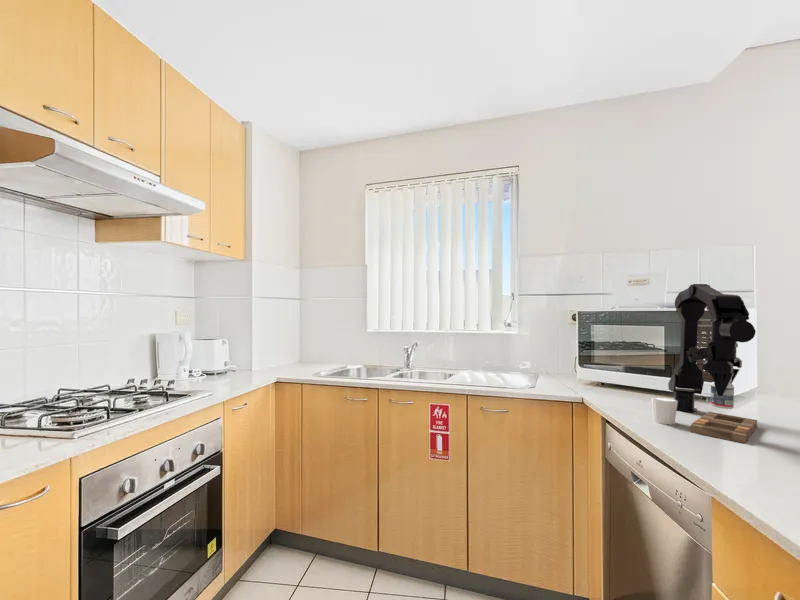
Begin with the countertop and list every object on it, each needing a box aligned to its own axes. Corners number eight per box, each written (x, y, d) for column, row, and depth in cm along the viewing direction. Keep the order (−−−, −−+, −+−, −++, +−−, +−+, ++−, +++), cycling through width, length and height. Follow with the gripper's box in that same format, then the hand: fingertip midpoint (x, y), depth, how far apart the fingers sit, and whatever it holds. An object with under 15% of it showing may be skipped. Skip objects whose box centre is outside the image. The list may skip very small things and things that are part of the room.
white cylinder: (651, 422, 127) (652, 399, 127) (650, 417, 133) (650, 395, 133) (678, 426, 124) (679, 402, 124) (675, 421, 130) (676, 398, 130)
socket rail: (708, 417, 135) (708, 410, 135) (757, 426, 126) (757, 419, 126) (690, 431, 119) (690, 423, 119) (744, 443, 110) (745, 434, 110)
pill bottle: (710, 403, 122) (711, 373, 122) (733, 406, 119) (734, 375, 119) (709, 406, 118) (710, 375, 118) (733, 410, 115) (734, 377, 115)
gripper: (697, 335, 131) (695, 385, 131) (681, 338, 118) (679, 393, 118) (743, 338, 123) (741, 392, 123) (731, 341, 110) (729, 401, 110)
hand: (721, 394), depth 118 cm, fingers closed on pill bottle, 5 cm apart
